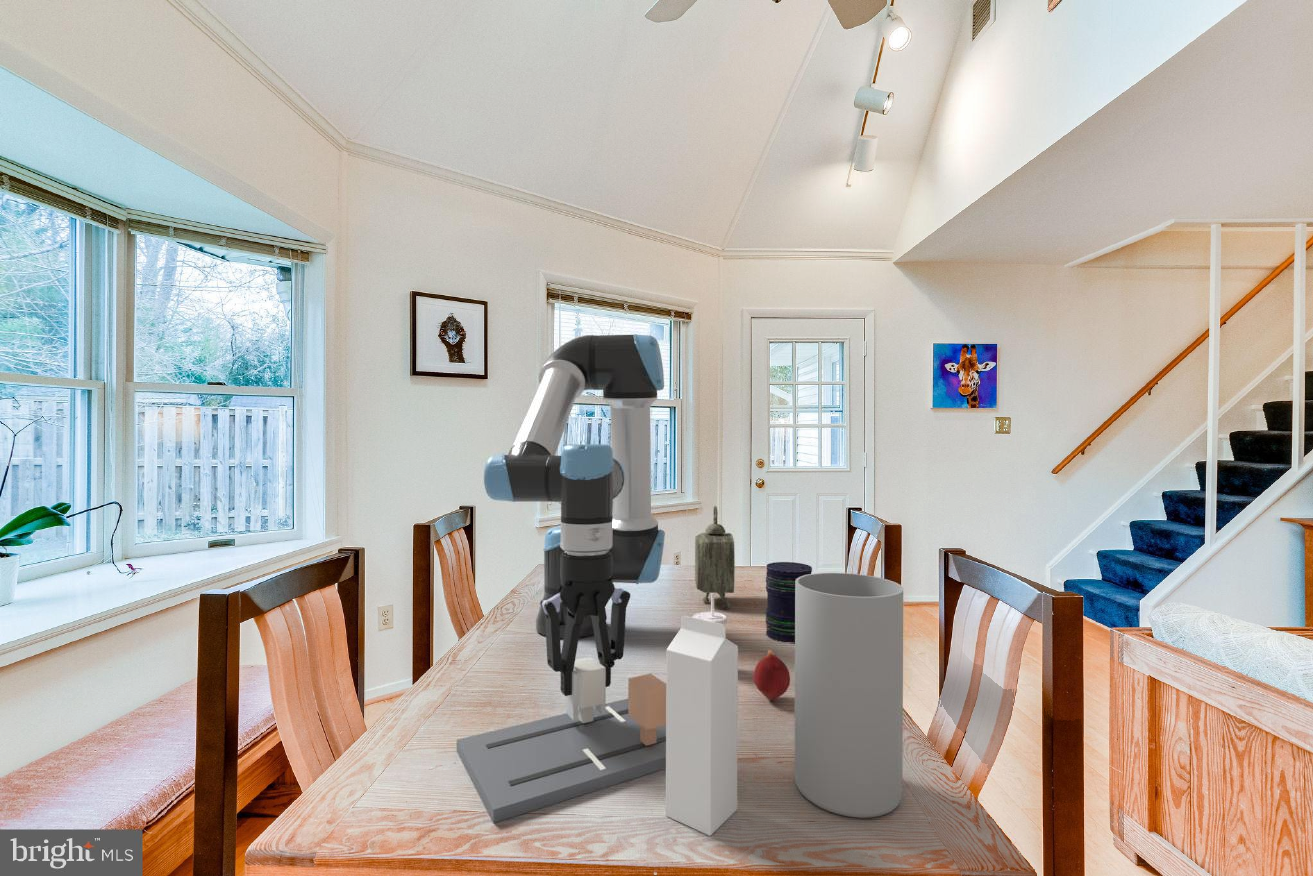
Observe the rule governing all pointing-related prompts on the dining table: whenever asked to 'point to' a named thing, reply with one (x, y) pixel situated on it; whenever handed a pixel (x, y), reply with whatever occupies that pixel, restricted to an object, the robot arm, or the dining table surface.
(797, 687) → the cylinder vase
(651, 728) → the fader
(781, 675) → the onion
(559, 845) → the dining table surface
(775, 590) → the storage jar
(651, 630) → the dining table surface
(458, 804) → the dining table surface
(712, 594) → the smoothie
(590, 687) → the block
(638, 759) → the console
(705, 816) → the milk
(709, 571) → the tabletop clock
